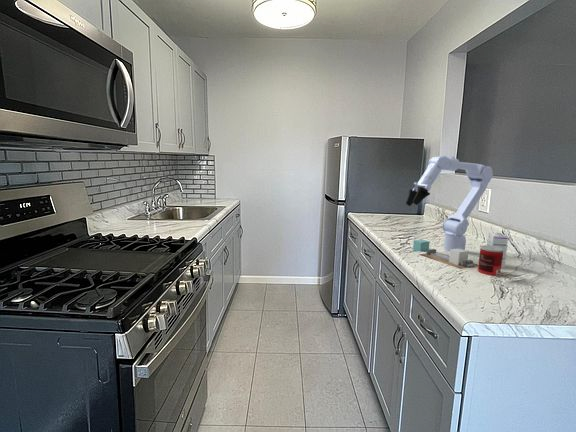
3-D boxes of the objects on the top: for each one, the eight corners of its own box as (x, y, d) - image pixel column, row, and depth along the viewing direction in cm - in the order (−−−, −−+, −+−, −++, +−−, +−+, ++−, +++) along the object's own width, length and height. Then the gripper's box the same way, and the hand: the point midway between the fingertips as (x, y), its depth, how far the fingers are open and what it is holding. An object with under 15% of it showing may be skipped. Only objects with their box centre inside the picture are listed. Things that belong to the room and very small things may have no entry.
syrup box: (504, 270, 139) (509, 236, 137) (488, 269, 141) (493, 235, 138) (499, 266, 145) (503, 233, 142) (483, 265, 146) (488, 232, 144)
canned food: (497, 273, 136) (500, 246, 134) (502, 279, 129) (506, 251, 127) (475, 270, 138) (478, 244, 137) (479, 277, 131) (482, 249, 129)
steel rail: (432, 252, 159) (432, 248, 159) (473, 266, 141) (473, 261, 140) (425, 253, 157) (425, 249, 157) (466, 267, 139) (466, 262, 138)
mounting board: (436, 254, 161) (437, 251, 161) (480, 268, 142) (480, 265, 142) (417, 256, 156) (418, 254, 156) (460, 271, 137) (460, 268, 137)
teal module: (421, 250, 168) (422, 239, 167) (428, 252, 164) (429, 241, 163) (412, 251, 166) (413, 240, 165) (419, 253, 162) (421, 242, 161)
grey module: (457, 260, 148) (459, 248, 147) (467, 263, 144) (468, 251, 143) (448, 262, 145) (450, 249, 144) (458, 265, 141) (459, 252, 140)
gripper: (413, 176, 161) (397, 200, 160) (427, 171, 147) (410, 197, 146) (425, 185, 161) (410, 208, 161) (441, 181, 147) (423, 207, 146)
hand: (411, 204), depth 153 cm, fingers open, 7 cm apart
